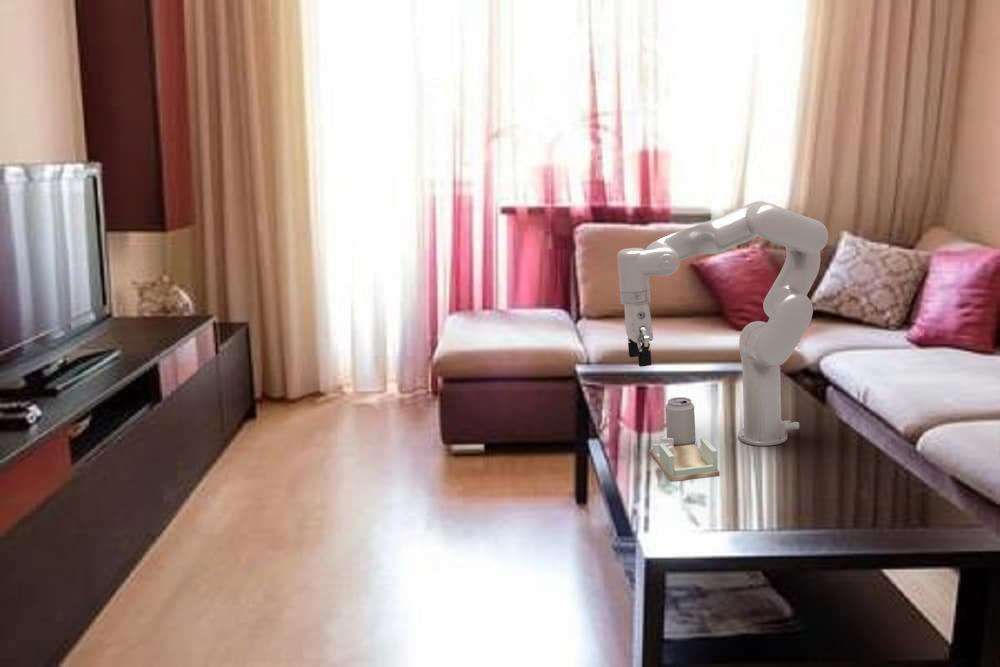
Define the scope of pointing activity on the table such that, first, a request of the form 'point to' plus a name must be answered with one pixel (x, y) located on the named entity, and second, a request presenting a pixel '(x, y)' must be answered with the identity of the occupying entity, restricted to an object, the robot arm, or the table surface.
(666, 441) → the clip
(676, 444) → the can
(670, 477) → the board
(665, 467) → the bracket
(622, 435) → the table surface
